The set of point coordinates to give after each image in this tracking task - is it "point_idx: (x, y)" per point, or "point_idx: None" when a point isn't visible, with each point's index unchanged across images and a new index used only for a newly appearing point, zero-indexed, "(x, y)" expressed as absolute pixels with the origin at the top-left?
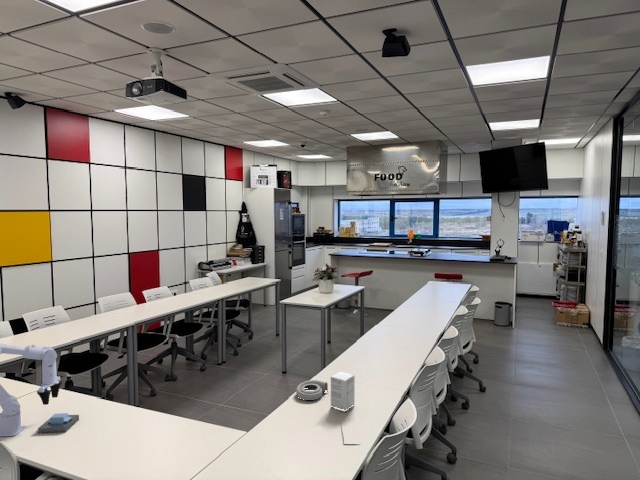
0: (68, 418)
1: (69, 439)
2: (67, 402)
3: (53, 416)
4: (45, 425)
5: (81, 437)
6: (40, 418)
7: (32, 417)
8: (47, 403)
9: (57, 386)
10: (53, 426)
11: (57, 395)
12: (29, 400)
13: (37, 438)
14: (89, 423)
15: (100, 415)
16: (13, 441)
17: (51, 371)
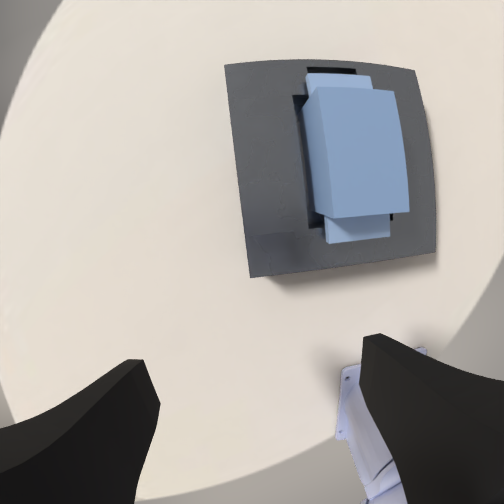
0: (335, 82)
1: (439, 44)
2: (39, 325)
3: (389, 194)
4: (408, 225)
5: (412, 3)
6: (227, 365)
7: (221, 407)
8: (389, 340)
9: (53, 479)
10: (419, 155)
11: (123, 367)
12: None
13: (456, 211)
14: (275, 2)
15: (167, 3)
16: (461, 312)
17: None
